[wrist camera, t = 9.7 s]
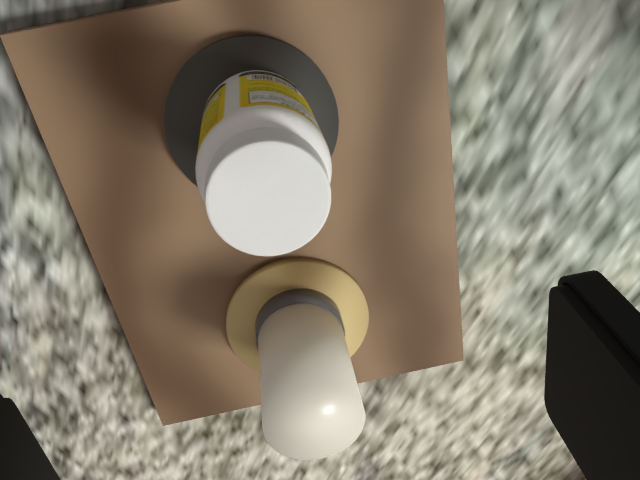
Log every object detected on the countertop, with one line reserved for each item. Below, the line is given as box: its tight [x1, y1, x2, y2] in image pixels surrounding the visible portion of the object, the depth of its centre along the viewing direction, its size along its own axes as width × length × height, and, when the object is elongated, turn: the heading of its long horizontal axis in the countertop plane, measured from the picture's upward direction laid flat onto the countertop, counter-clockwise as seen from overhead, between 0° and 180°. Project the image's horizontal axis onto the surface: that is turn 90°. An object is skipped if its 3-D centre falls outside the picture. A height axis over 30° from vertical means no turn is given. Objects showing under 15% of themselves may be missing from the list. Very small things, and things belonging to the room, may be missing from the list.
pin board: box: [0, 0, 463, 426], centre depth 29 cm, size 18×22×2 cm
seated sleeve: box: [255, 288, 365, 460], centre depth 28 cm, size 5×5×7 cm
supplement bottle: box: [195, 70, 332, 256], centre depth 22 cm, size 5×5×8 cm
